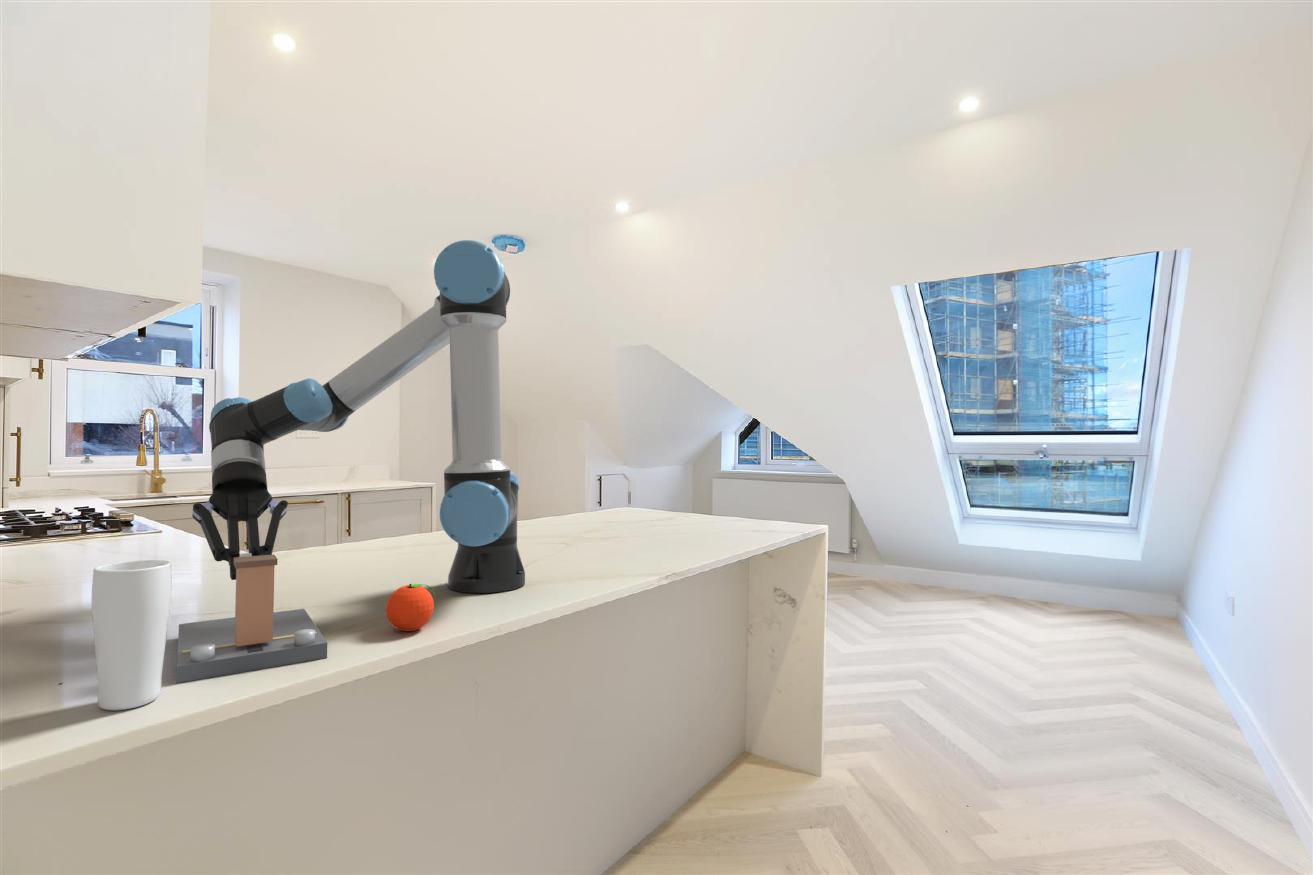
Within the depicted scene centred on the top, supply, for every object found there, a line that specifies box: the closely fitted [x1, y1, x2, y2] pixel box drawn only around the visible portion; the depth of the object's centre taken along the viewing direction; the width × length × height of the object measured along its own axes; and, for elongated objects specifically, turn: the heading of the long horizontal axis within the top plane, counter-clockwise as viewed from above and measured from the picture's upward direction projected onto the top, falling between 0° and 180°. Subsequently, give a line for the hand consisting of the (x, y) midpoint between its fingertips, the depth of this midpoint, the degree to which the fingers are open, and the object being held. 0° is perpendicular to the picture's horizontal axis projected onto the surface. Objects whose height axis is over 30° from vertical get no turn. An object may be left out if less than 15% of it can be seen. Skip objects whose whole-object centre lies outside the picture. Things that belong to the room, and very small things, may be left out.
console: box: [176, 608, 328, 684], centre depth 88 cm, size 16×21×4 cm
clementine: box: [385, 583, 436, 632], centre depth 98 cm, size 8×7×7 cm
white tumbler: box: [91, 559, 173, 711], centre depth 69 cm, size 7×7×15 cm
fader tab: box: [234, 553, 279, 647], centre depth 83 cm, size 5×4×11 cm
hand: (247, 595), depth 92 cm, fingers closed
